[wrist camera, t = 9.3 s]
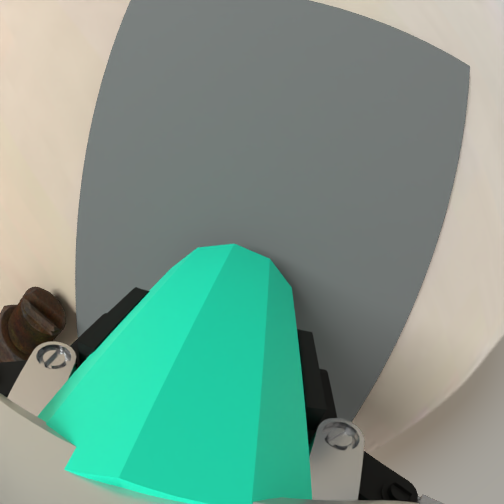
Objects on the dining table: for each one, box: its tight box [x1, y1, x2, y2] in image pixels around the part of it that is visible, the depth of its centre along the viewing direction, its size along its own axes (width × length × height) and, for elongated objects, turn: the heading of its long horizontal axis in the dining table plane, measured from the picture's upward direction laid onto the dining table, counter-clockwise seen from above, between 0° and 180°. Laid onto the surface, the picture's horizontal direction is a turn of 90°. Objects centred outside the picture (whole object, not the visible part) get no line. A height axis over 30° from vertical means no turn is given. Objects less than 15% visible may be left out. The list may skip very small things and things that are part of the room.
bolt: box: [0, 287, 66, 362], centre depth 16 cm, size 6×5×15 cm
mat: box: [75, 0, 470, 422], centre depth 14 cm, size 22×18×1 cm
